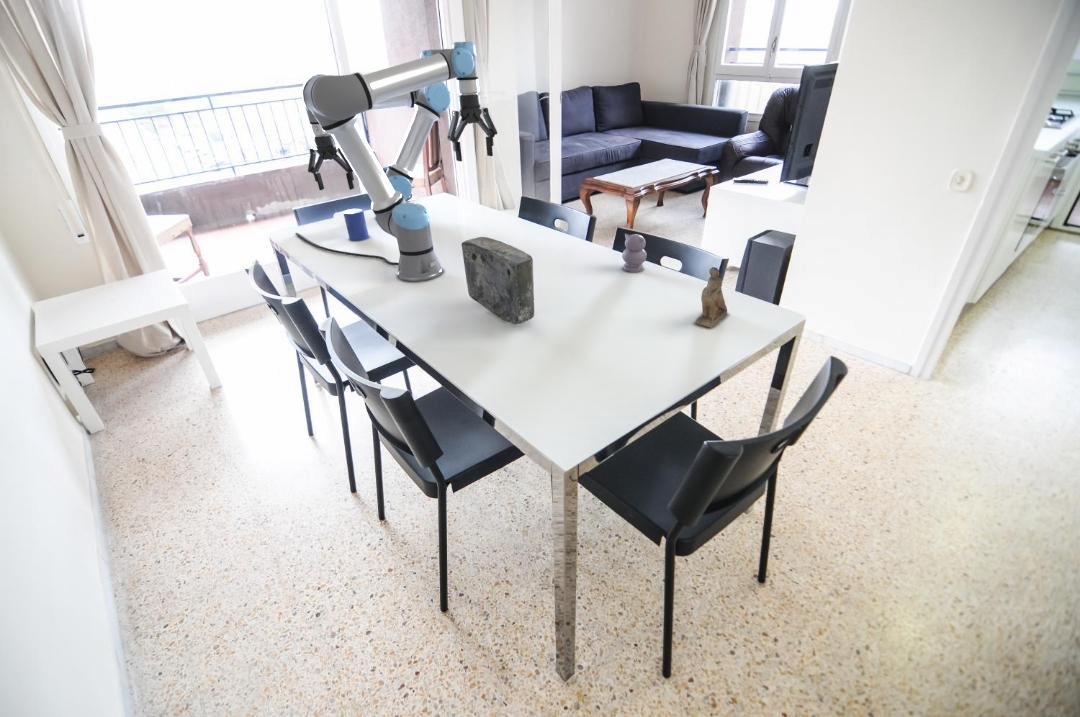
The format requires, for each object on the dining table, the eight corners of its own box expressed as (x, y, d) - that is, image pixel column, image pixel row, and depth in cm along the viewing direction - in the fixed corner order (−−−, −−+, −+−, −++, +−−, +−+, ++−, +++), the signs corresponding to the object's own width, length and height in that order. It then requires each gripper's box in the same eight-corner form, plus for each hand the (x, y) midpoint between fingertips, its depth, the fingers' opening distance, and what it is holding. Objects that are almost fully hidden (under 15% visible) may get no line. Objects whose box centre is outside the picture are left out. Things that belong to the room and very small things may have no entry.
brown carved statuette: (709, 335, 136) (713, 280, 124) (691, 329, 139) (693, 274, 128) (730, 313, 142) (736, 258, 130) (712, 307, 145) (716, 253, 133)
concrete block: (541, 325, 139) (539, 257, 129) (515, 335, 135) (510, 265, 124) (492, 295, 158) (486, 233, 147) (468, 303, 153) (460, 240, 143)
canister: (368, 239, 212) (362, 212, 206) (348, 241, 210) (342, 214, 204) (369, 234, 218) (363, 207, 212) (350, 236, 217) (344, 209, 211)
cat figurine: (650, 268, 173) (653, 234, 167) (637, 274, 168) (640, 240, 162) (629, 262, 178) (631, 229, 172) (616, 269, 173) (618, 235, 167)
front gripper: (492, 91, 183) (496, 152, 194) (431, 96, 170) (440, 161, 181) (503, 91, 178) (507, 154, 189) (442, 97, 165) (451, 164, 176)
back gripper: (289, 137, 198) (305, 191, 209) (347, 135, 195) (360, 190, 206) (299, 134, 204) (314, 187, 216) (356, 132, 201) (368, 186, 212)
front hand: (475, 158), depth 185 cm, fingers open, 13 cm apart
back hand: (336, 189), depth 211 cm, fingers open, 13 cm apart
